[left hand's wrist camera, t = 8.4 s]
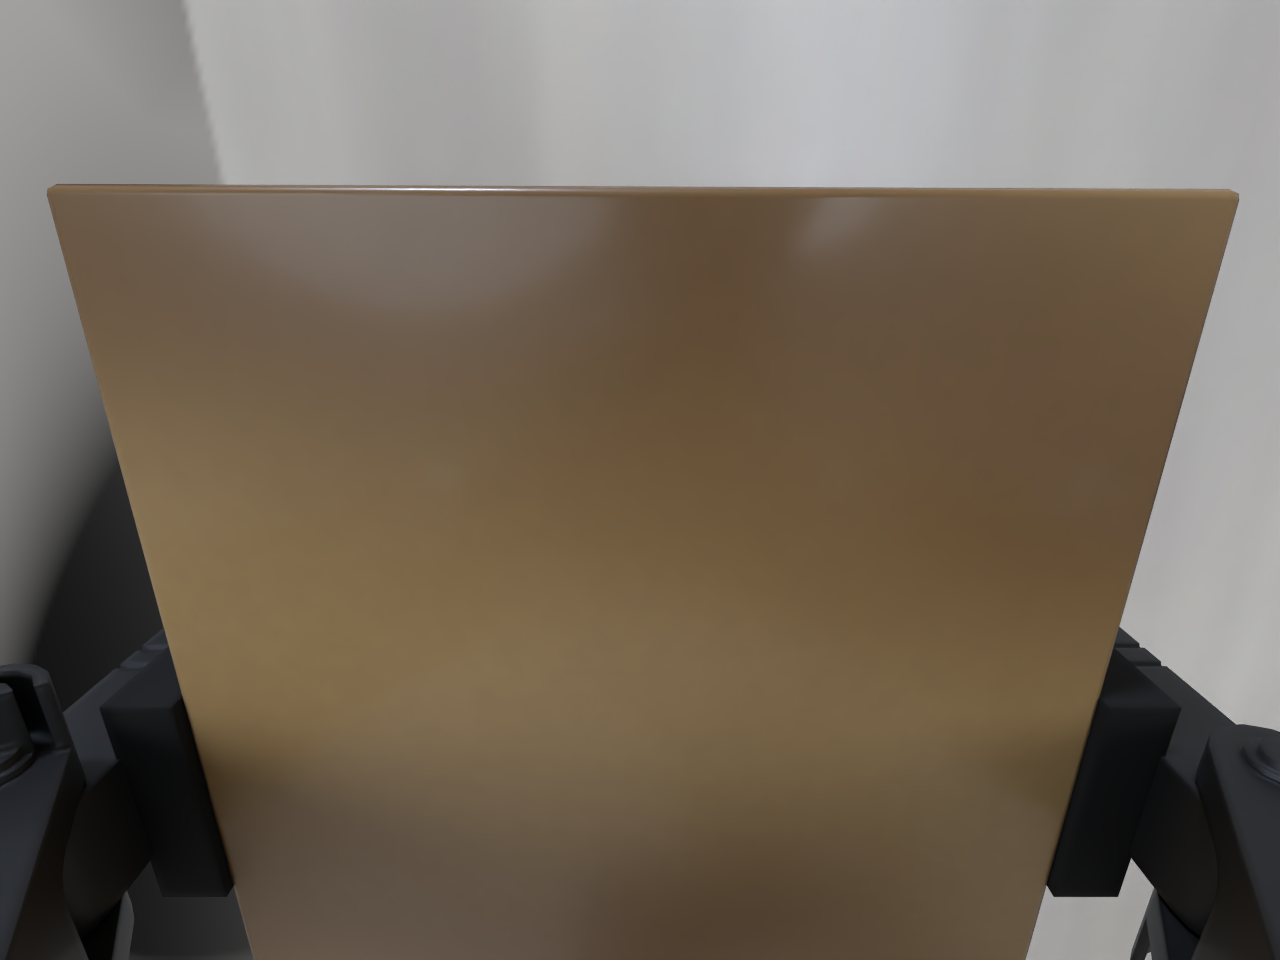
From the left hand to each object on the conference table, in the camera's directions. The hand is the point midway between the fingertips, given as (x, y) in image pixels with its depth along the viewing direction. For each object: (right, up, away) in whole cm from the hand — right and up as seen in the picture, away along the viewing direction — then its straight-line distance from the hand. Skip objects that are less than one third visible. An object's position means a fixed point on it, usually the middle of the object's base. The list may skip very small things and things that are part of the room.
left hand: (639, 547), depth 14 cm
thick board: (0, -18, +7) cm, 19 cm away
